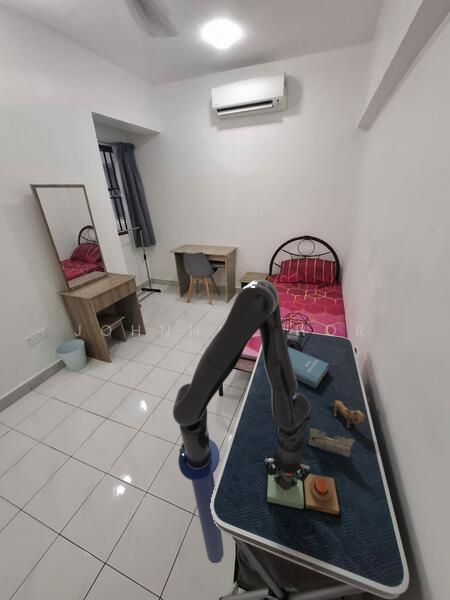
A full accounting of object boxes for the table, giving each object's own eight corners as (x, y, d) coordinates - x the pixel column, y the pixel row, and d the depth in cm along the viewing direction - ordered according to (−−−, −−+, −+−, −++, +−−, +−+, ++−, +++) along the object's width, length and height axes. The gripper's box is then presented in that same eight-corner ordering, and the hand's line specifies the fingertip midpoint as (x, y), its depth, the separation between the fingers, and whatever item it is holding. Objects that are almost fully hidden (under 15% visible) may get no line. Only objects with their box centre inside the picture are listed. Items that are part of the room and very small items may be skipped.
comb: (307, 447, 91) (309, 430, 86) (307, 441, 93) (310, 424, 88) (350, 460, 86) (355, 443, 81) (349, 454, 88) (354, 436, 83)
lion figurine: (363, 427, 96) (368, 412, 93) (356, 435, 94) (361, 420, 90) (330, 403, 107) (333, 389, 103) (323, 410, 105) (326, 395, 101)
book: (327, 371, 126) (328, 363, 123) (314, 389, 115) (316, 382, 113) (288, 354, 139) (288, 347, 137) (273, 369, 129) (274, 362, 127)
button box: (305, 507, 74) (306, 501, 72) (303, 476, 82) (304, 469, 80) (338, 514, 72) (340, 508, 70) (332, 481, 80) (334, 475, 78)
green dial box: (267, 501, 76) (267, 496, 75) (268, 468, 85) (268, 463, 84) (303, 509, 74) (304, 504, 73) (300, 474, 83) (301, 469, 81)
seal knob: (278, 488, 77) (278, 480, 74) (278, 473, 80) (278, 465, 78) (292, 491, 76) (293, 483, 74) (291, 476, 80) (292, 468, 77)
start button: (315, 493, 74) (316, 490, 74) (314, 481, 78) (314, 477, 77) (327, 496, 74) (328, 493, 73) (326, 483, 77) (326, 480, 76)
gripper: (312, 441, 72) (306, 473, 80) (264, 434, 75) (263, 465, 83) (315, 467, 66) (309, 500, 73) (263, 458, 69) (262, 490, 76)
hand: (285, 481), depth 78 cm, fingers closed on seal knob, 4 cm apart
